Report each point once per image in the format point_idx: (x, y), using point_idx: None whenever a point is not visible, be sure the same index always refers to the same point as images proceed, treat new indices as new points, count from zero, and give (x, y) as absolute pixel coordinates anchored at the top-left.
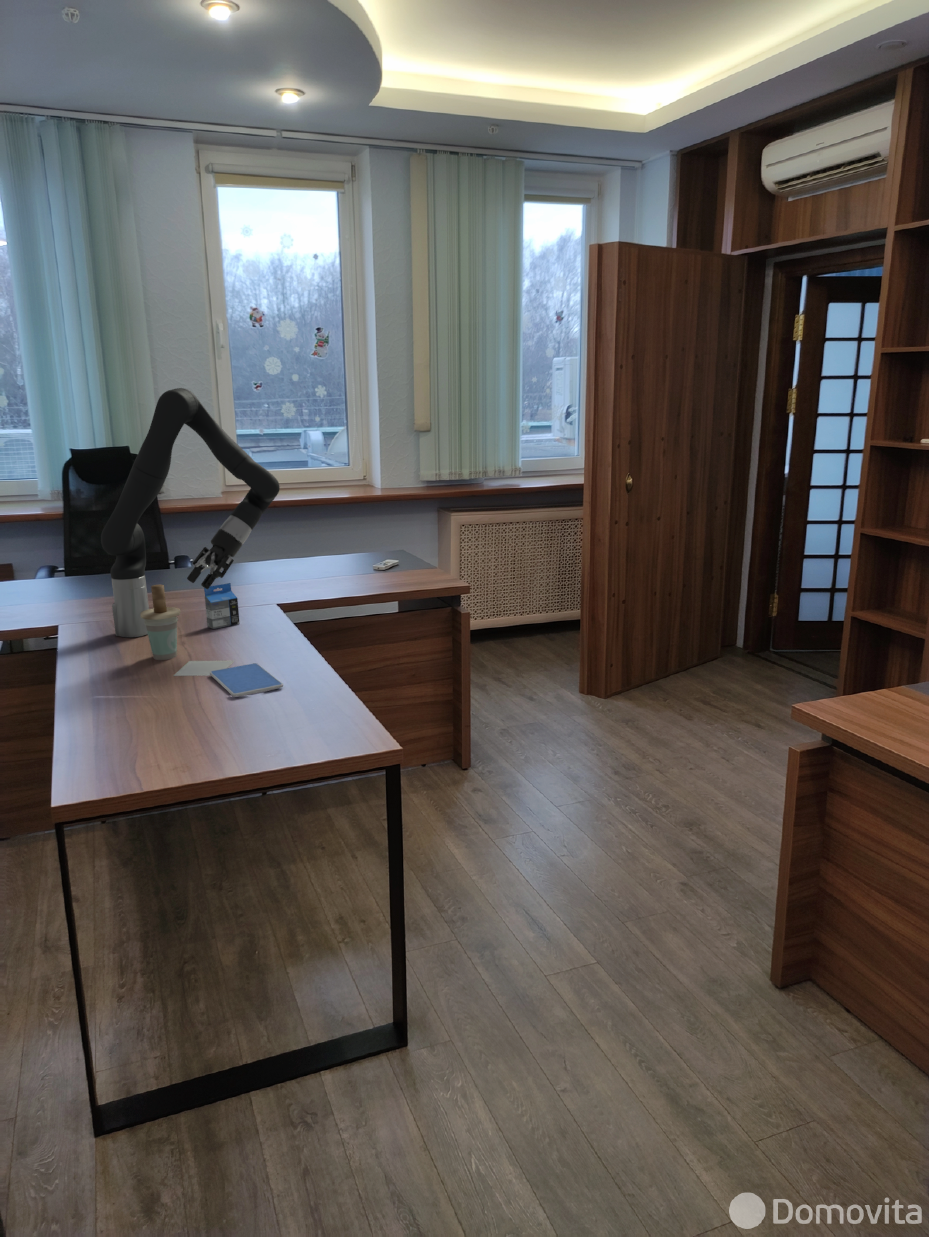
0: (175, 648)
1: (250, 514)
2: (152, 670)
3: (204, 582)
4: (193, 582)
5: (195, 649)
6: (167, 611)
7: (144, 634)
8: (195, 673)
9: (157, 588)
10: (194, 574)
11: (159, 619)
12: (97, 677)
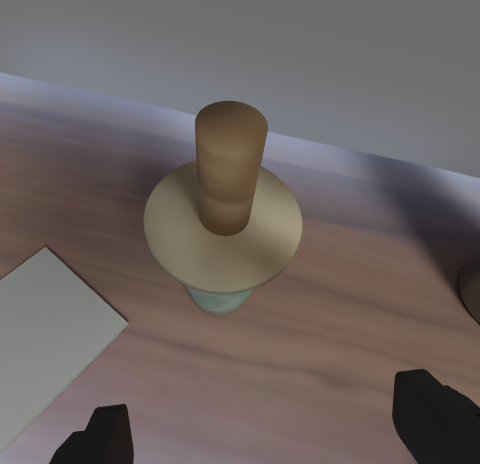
0: (193, 299)
1: None
2: (141, 231)
3: (84, 438)
4: (396, 426)
5: (246, 389)
6: (208, 234)
7: (471, 311)
8: (6, 294)
9: (198, 120)
10: (450, 455)
11: None
12: (183, 150)
